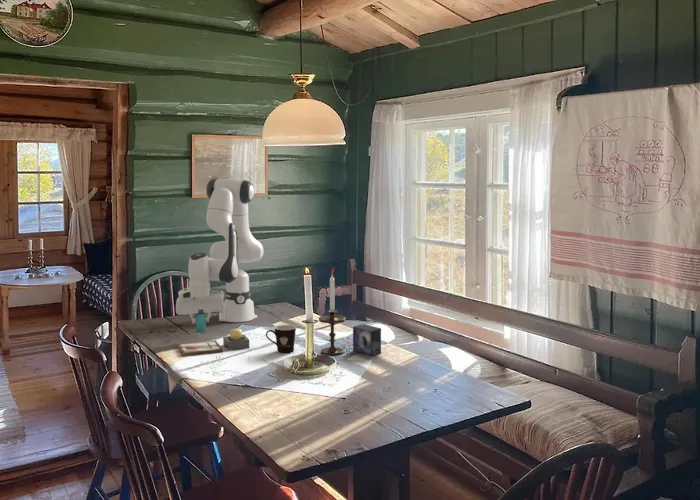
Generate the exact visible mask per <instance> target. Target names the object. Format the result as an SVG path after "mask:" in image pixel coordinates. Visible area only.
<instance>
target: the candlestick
mask: <svg viewBox="0 0 700 500" xmlns="http://www.w3.org/2000/svg"><path fill="white" fill-rule="evenodd" d="M334 271H335V268H334V267H333V268H332V270H331V272H330V275H331V277H330V278H329V310H327V313H329V314H324V315H321V316H318V321H319V322H320V323H324V324H329V325H330V333H329V334H328V336H329V337H330V339H329V340H328V341H329V342H330V346H329V347H325V348H322V349H321V354H322V355H324V354H325V355H324V356H329V355H331V356H334V357H335V356H339V355H343V354H344V352H345V350H344V349H343V348H341V347H336V346H335V342H336V339H335V337H336V336H337V333H335V325H336V324H341V323H344V322H346V320H347V319H346V316H345V315H340V314H335V313H338V310H335V304H336V303H335V300H336V299H335V277H334Z"/></svg>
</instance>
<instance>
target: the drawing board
mask: <svg viewBox="0 0 700 500" xmlns="http://www.w3.org/2000/svg"><path fill="white" fill-rule="evenodd" d="M176 347H177V349H178V350H179V353H180V354H181V356H182V357H189V356H190V357H191V356H199V355H208V354H218V353H224V349H223V348H222V346H221V345H220V344H219V342H217V340H215V339H214V340H206V341H195V342H186V343H177V345H176Z"/></svg>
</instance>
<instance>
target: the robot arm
mask: <svg viewBox="0 0 700 500" xmlns="http://www.w3.org/2000/svg"><path fill="white" fill-rule="evenodd" d="M254 195H255V188H254V185H253V183H252V182H251V181H249V180H245V179H243V180H242V179H236V178H213V179H210V180H209V181H208V182H207V184H206V196H207V198H208V199H209V201H208V205H207V210H206V216H205V217H206V218H205V219H206V220H205V221H206V224H207V225H208V228H209V229H211V230H212V231H213V232H216V233H217V234H219V235H220V236H223V237H224V240H221V241H216V242H214V243H212V244H211V246H210V249H209V256H208V254H207V253H205V252H198V253H194V254H191V255H190V256H189V260H188V265H187V266H188V279H189V282H188V287H185V288H183V289H180V290H179V291H178V293H177V294H178V297H177V299H176V304H175V313H176V314H177V315H178V316H184V315H188V316H189V317H190V319H191V323H192V324H193V325H194V324H195V325H196V318H194V315H196V314H197V313H198V310H202V309H203V311H204V313H205V314H207V315H206V316H207V317H205V324H208V323H210V318H211V316H212V313H218V312H219V313H218V321H219V322H229V323H243V322H249V321H253V320H255V319H257V318H258V315H257V314H255V309H254V308H255V306H254V301H253V300H252V299H251V290H250V277H249V275H248V273H247V272H246V271H244V270H243V269H240V268H239V264H241V263H244V264H245V263H248V264H249V263H254V262H259V261H261V259H263V256H264V247H263V246H264V245H263V244H262V243H261V242H260V241H259V240H258V239H256V238H255V236H254V235H253V234H252V233H251V229H250V222H249V203H250V202H251V201H252V200H253V199H254ZM210 281H211V282H212V281H213V282H222V283H225V288H226V291H225V293H224V291H223V290H221V289H217V290H211V282H210Z"/></svg>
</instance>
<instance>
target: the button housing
mask: <svg viewBox="0 0 700 500" xmlns="http://www.w3.org/2000/svg"><path fill="white" fill-rule="evenodd" d="M222 340H223V341H222V342H223V346H224V347H225V349H226V350H227V351H233V350H243V349H250V339H249V337H248V336H246V335H245V334H242V340H232V341H231V340H230V335H227V336H223V337H222Z"/></svg>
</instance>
